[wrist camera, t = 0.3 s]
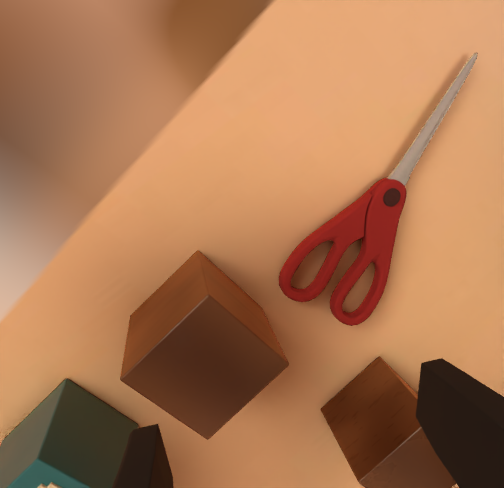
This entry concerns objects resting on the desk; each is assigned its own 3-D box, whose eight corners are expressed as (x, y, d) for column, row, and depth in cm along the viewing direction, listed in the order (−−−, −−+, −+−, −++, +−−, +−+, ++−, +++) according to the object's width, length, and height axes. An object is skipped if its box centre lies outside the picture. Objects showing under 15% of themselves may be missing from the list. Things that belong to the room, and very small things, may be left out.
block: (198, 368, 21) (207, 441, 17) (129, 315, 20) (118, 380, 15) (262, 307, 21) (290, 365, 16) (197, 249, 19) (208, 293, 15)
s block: (78, 481, 22) (55, 584, 17) (2, 439, 20) (-47, 540, 16) (139, 424, 22) (131, 513, 17) (66, 377, 20) (36, 461, 15)
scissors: (269, 284, 20) (274, 293, 19) (426, 19, 18) (440, 14, 17) (353, 323, 22) (362, 333, 21) (507, 87, 20) (524, 85, 19)
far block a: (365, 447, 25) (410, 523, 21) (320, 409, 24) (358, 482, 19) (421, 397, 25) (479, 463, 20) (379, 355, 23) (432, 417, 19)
